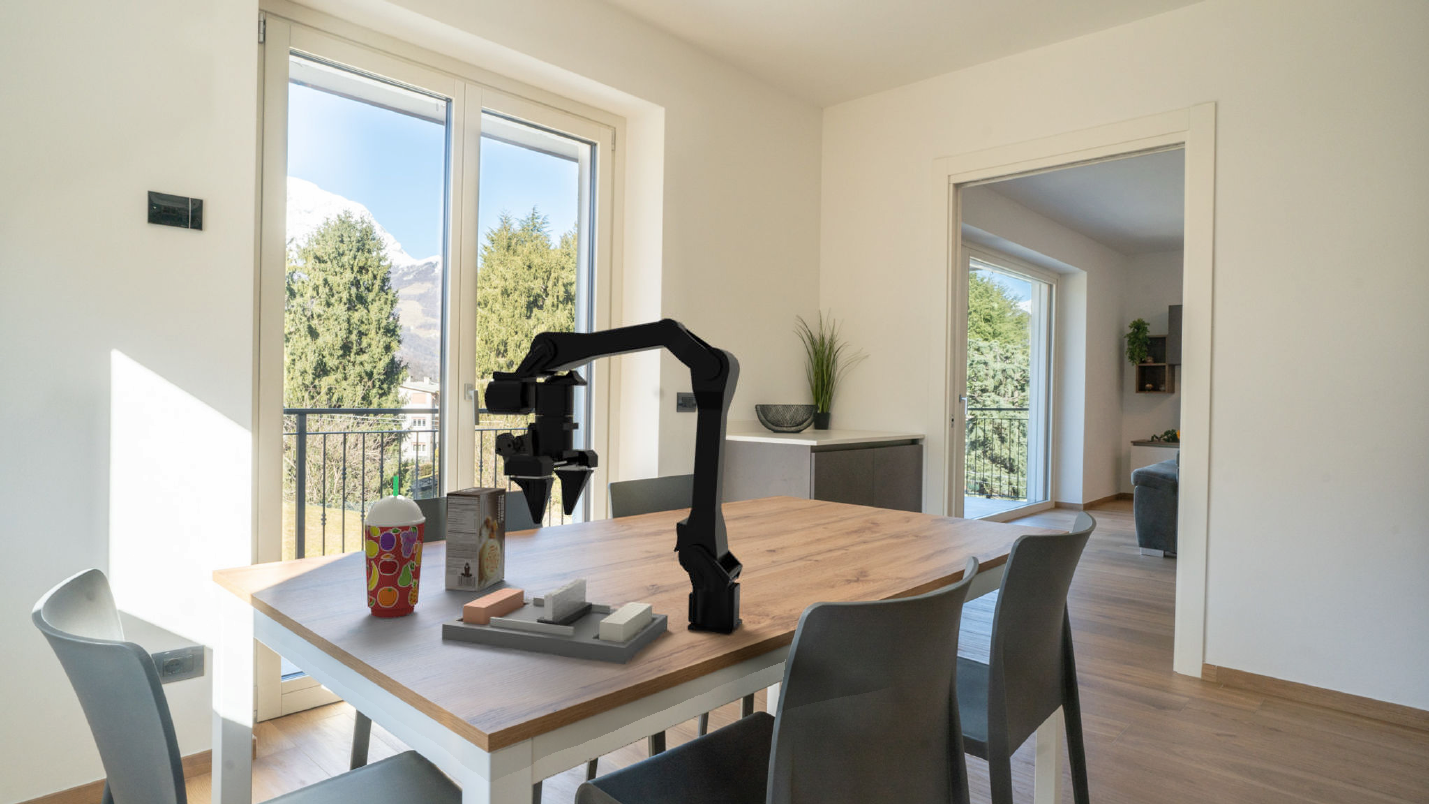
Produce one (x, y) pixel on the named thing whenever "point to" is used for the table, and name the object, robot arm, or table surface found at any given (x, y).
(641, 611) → the button white
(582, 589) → the slider paddle
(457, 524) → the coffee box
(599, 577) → the table surface
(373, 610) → the smoothie
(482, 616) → the button terracotta
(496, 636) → the panel
